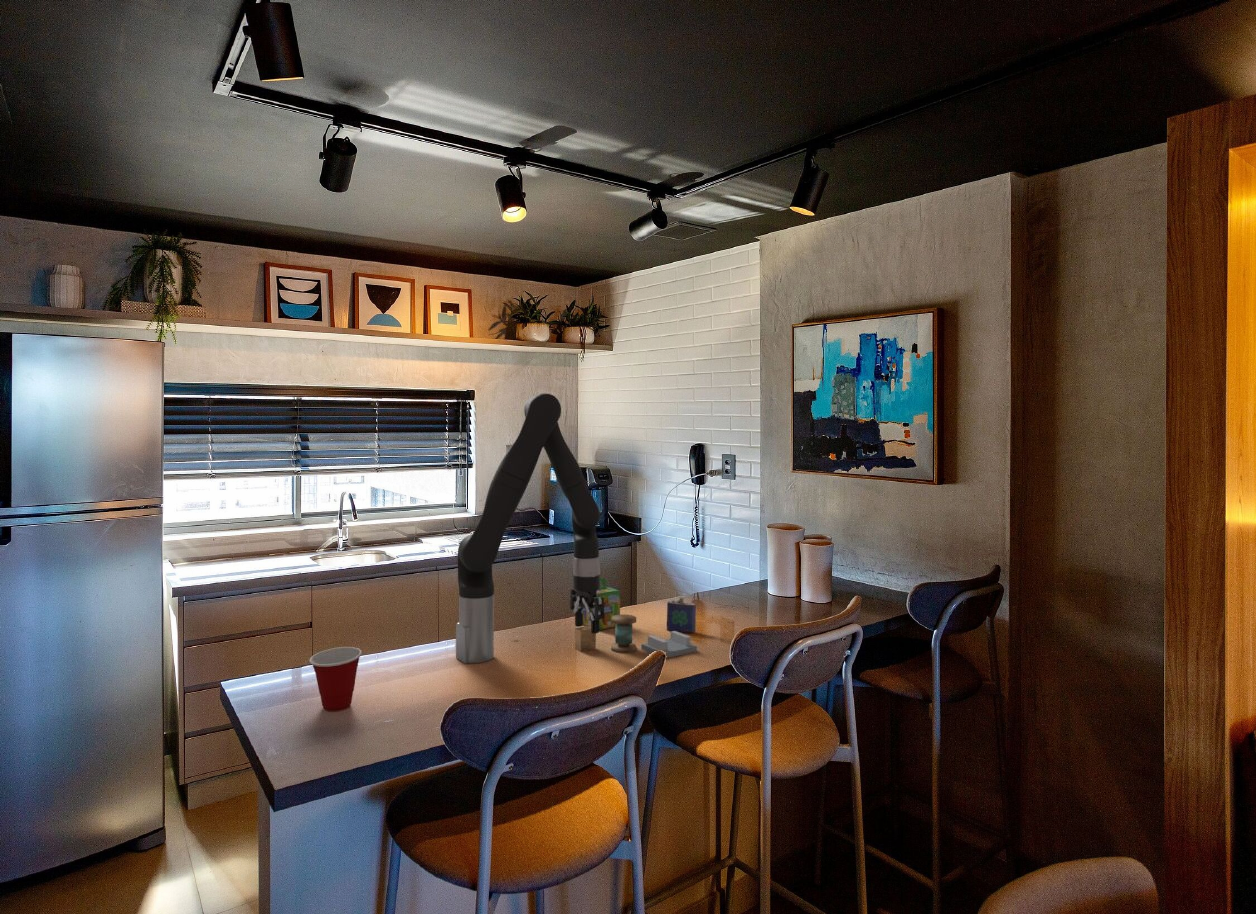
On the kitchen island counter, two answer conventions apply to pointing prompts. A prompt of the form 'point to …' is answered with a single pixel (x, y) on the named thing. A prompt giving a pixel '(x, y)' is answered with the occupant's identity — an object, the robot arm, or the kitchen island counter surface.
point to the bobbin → (623, 633)
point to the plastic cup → (336, 676)
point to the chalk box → (605, 606)
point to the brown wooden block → (584, 639)
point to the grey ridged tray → (670, 644)
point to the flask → (681, 616)
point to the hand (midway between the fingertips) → (587, 629)
